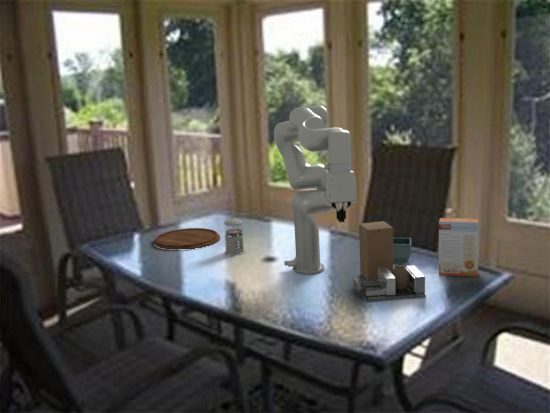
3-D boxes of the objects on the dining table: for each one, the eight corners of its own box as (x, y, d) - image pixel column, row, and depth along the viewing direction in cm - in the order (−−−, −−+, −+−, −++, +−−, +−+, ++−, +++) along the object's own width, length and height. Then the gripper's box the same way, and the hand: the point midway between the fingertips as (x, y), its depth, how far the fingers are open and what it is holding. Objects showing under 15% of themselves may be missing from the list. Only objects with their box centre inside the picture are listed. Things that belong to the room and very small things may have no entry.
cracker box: (478, 272, 228) (479, 218, 224) (477, 277, 223) (479, 222, 218) (439, 269, 233) (439, 217, 228) (438, 275, 228) (438, 221, 223)
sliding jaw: (360, 297, 206) (360, 280, 205) (353, 285, 218) (352, 269, 217) (395, 294, 207) (395, 278, 206) (386, 282, 219) (385, 266, 217)
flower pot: (411, 266, 239) (411, 244, 237) (388, 265, 241) (388, 243, 239) (411, 258, 248) (410, 237, 246) (388, 258, 249) (388, 237, 247)
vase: (393, 292, 210) (393, 268, 208) (388, 285, 216) (387, 262, 214) (412, 291, 210) (412, 266, 208) (407, 284, 217) (406, 260, 215)
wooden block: (394, 279, 226) (393, 227, 221) (368, 282, 224) (367, 230, 220) (384, 270, 235) (384, 220, 231) (359, 273, 234) (358, 223, 229)
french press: (220, 255, 266) (215, 199, 261) (231, 247, 277) (227, 193, 271) (240, 256, 263) (236, 200, 257) (251, 248, 273) (248, 194, 267)
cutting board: (185, 229, 313) (185, 224, 313) (234, 237, 295) (233, 231, 294) (138, 246, 288) (138, 240, 288) (188, 255, 270) (187, 249, 269)
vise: (368, 302, 206) (367, 282, 204) (359, 287, 219) (358, 268, 218) (425, 297, 207) (426, 277, 206) (413, 283, 221) (413, 264, 219)
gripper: (319, 171, 198) (321, 225, 202) (364, 168, 199) (365, 222, 203) (315, 167, 205) (317, 220, 209) (359, 164, 206) (360, 217, 210)
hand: (341, 221), depth 206 cm, fingers closed
